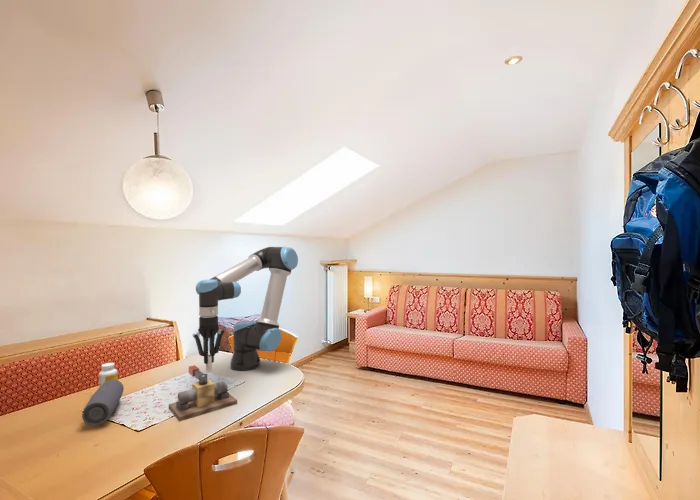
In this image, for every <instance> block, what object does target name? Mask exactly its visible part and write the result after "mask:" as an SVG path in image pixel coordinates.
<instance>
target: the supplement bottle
mask: <svg viewBox="0 0 700 500" xmlns="http://www.w3.org/2000/svg"><path fill="white" fill-rule="evenodd" d="M113 379H114V380H118V369H117V368H115V363H114V362H106V363H103V364H101V370H100V372H99V373H98V388H99V387H100V386H101V385H102V384H104V383H105V382H106V381H108V380H113Z"/></svg>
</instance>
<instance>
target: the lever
mask: <svg viewBox="0 0 700 500" xmlns="http://www.w3.org/2000/svg"><path fill="white" fill-rule="evenodd" d="M188 374H189V375H190V376H191V377H193V378H195V379H197V380H198V382H199V384H205V383H207V382H208V381H207V379H208V373H203V372H202V371H201V370H200V368H199V367H198V366H196V364H195V365H190V366H188Z"/></svg>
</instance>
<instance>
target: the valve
mask: <svg viewBox="0 0 700 500" xmlns="http://www.w3.org/2000/svg"><path fill="white" fill-rule="evenodd" d="M207 381H208V382H207V383H205V384H199V381H195V382H192V385H191V386H192V387H191V388H192V389H188V390H183V391H180V392H177V401H175V402H172V403H169V404H168V409H169V411H170V412H171V413H172V414H173V415H174V416H175V417H176V419H177V420H178V422H182V421H185V420H188V419H192V418H195V417H198V416H202V415H204V414H208V413H212V412H215V411H218V410H222V409H224V408H228V407H232V406H235V405H237V404H238V399H236V398H235V397H234V396H233V395H232V394H231V393H230V392H229V391H228V390H229V389H228V383H227V381H226V380H223V381H220V382H213V381H212V380H210V379H209V378H207Z"/></svg>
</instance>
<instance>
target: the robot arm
mask: <svg viewBox="0 0 700 500" xmlns="http://www.w3.org/2000/svg"><path fill="white" fill-rule="evenodd" d="M298 263H299V257H298V254H297V251H296V250H295V249H294V248H293V247H291V246H290V247H287V246H267V247H264V248H261V249H259V250H257V251H255V252H254V253H252V254H249V255H248V258H247V259H245V260H243V261H241V262H239V263H237V264H236V265H233V266H232V267H230V268H228V269H226V270H224V271H222V272H221V273H219V274H217V275H215V276H214V277H211V278H209V279H202V280H199V281H198V282H197V283H196V285H195V292H196V294H197V295H198V302H199V303H198V304H199V306H198V309H199V310H198V311H199V313H198V316H199V318H198V321H199V322H198V323H199V324H198V330H197V332H195V333H193V334H192V337H193V338H194V340H195V344H196V346H197V347H196V348H197V351H198V354H199V356H201V357H203V363H204V365H205V371H206V372H208V373H210V372H212V370H213V363H214V362H215V355H216V354H218V353H219V351H220V347H221V344H222V338H223V337H222V336H224V333H225V330H224V329H220V327H219V316H218V315H219V301H223V300H224V301H226V300H234V299H235V298H238V297H239V296H240V295H241V293H242V289H241V288H242V287H241V284H240V283H239V282H238V281H240V280H242V279H244V278H245V277H247V276H249V275H251V274H252V273H254V272H259V271H261V270H265V269H268V270H269V272H270V277H269V280H268V285H267V290H266V293H265V297H264V300H263V301H264V302H263V306H262V309H261V310H262V311H261V315H260V318H259V319H258V320H246V321H241V322H236V323H235V324H234V325H233V334H232V335H233V354H232V356H231V360H230V369H231V370H233V371H240V372H241V371H242V372H244V371H251V370H255V369H257V368H260V366H261V359H260V356H259V353H258V350H260V351H262V352H273V351H274V350H276V349H277V348H278V346H279V345H280V344H281V341H282V337H283V336H282V331H281V329H279V328H280V324H279V323H278V319H279V315H280V311H281V307H282V306H281V305H282V301H283V297H284V292H285V287H286V285H287V284H286V283H287V278H288V277H289V276H290V275H291V273H292V270H294V269H296V268H297V267H298V265H299V264H298ZM200 336H201V337H202V339H203V340H202V341H203V345H202V342H201V339H200ZM215 337H216V338H215Z"/></svg>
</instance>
